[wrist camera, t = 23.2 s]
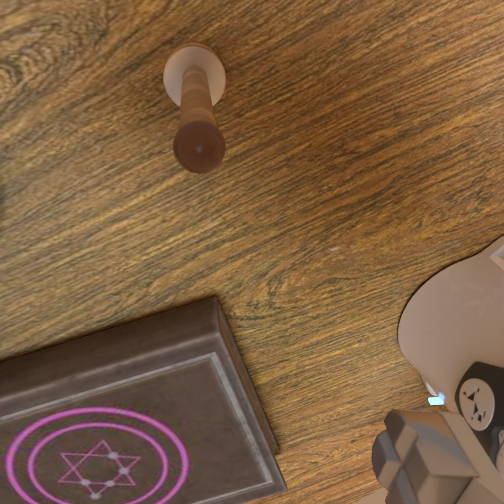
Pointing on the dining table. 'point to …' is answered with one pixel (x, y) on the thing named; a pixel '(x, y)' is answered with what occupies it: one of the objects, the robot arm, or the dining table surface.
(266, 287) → the dining table surface
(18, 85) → the dining table surface
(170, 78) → the wooden peg stand
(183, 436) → the book
